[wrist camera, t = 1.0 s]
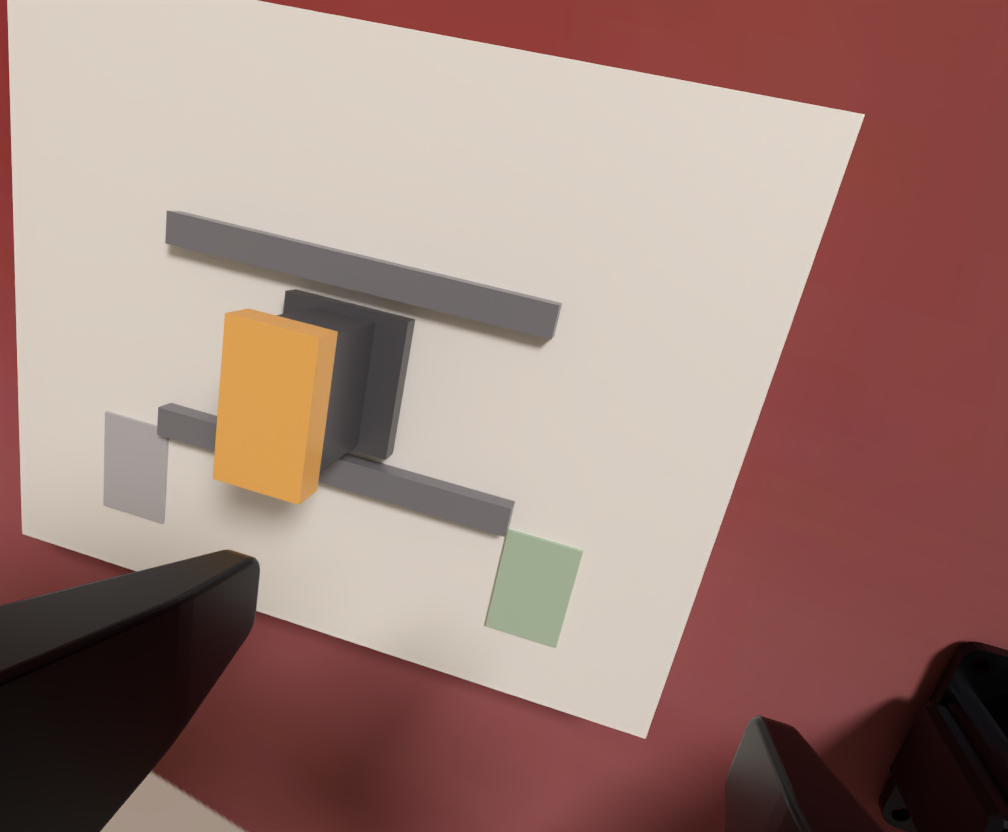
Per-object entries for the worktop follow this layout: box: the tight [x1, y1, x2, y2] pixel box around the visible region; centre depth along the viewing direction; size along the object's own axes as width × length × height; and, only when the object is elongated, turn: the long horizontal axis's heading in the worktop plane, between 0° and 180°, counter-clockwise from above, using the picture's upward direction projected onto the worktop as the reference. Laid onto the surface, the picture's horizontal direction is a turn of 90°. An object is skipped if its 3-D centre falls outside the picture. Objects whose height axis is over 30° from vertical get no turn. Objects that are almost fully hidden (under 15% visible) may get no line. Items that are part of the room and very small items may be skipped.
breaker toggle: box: [213, 289, 415, 505], centre depth 15 cm, size 3×4×4 cm
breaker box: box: [7, 0, 865, 739], centre depth 18 cm, size 20×16×4 cm
